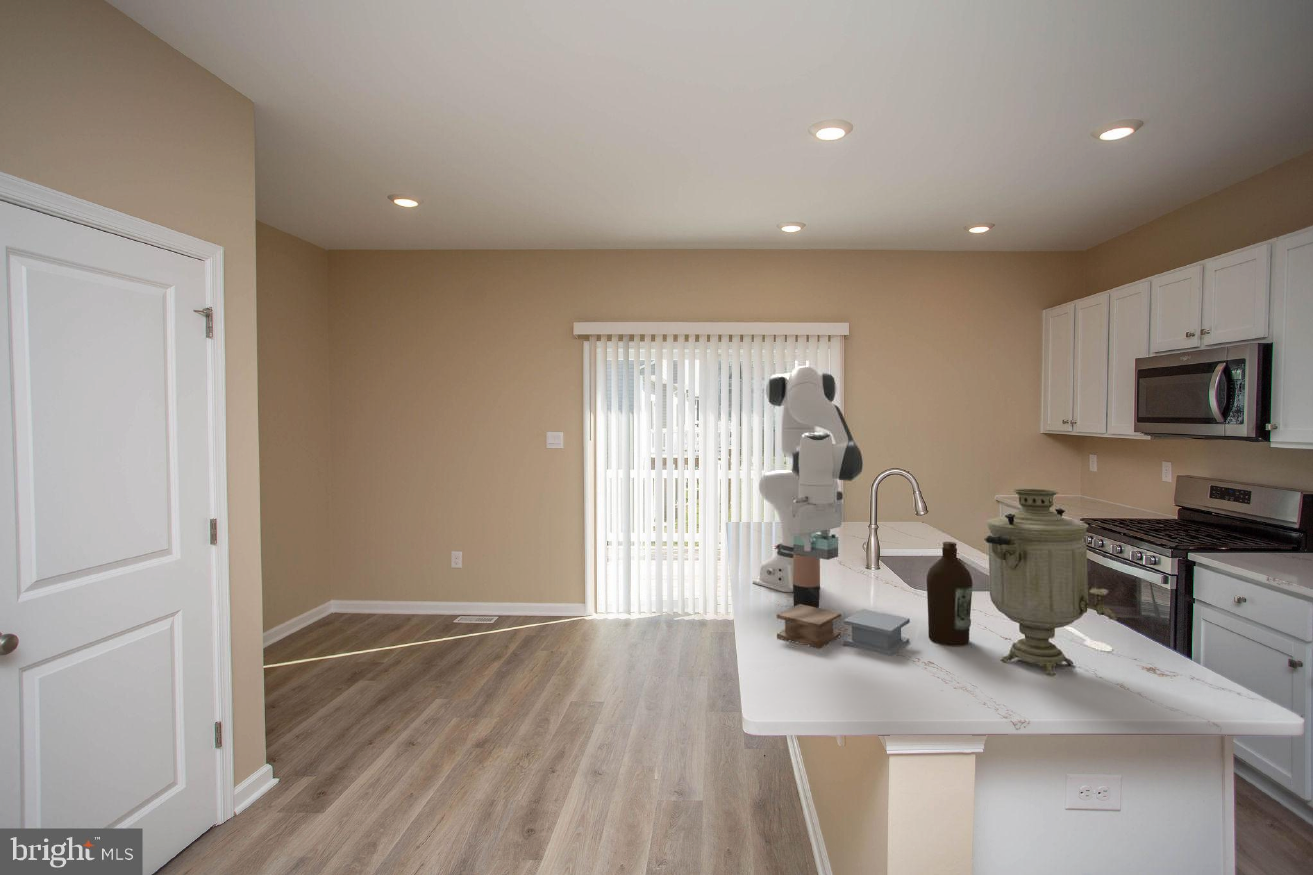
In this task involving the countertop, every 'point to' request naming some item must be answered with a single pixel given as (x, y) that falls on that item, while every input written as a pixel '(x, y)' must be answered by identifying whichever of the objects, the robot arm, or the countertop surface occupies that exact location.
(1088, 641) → the spoon
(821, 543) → the block
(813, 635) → the stand
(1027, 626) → the samovar
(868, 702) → the countertop surface
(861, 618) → the stand
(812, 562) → the travel mug
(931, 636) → the olive oil
